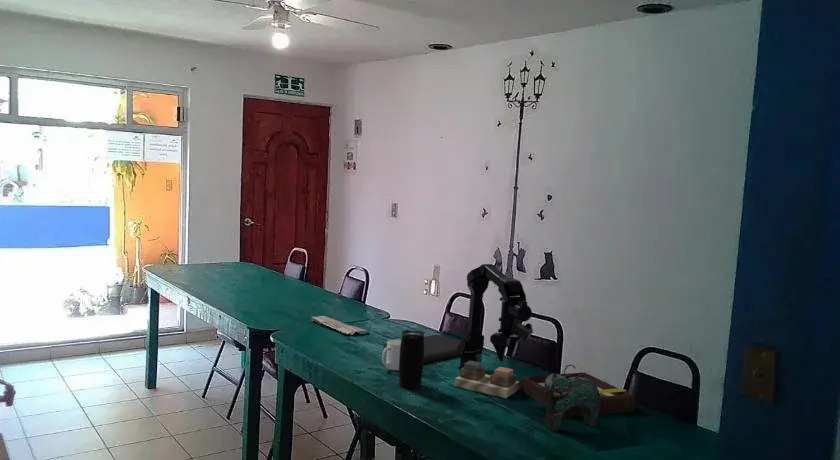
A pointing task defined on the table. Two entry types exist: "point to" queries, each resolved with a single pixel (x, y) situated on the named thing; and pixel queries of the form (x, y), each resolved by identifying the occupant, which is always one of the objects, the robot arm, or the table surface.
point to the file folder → (438, 348)
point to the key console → (487, 383)
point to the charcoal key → (473, 366)
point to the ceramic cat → (571, 399)
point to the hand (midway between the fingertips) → (506, 358)
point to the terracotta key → (503, 372)
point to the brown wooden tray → (610, 403)
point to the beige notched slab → (337, 325)
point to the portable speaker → (411, 358)
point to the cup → (392, 355)
